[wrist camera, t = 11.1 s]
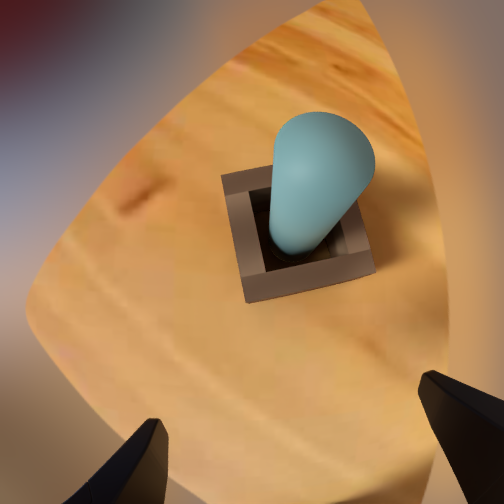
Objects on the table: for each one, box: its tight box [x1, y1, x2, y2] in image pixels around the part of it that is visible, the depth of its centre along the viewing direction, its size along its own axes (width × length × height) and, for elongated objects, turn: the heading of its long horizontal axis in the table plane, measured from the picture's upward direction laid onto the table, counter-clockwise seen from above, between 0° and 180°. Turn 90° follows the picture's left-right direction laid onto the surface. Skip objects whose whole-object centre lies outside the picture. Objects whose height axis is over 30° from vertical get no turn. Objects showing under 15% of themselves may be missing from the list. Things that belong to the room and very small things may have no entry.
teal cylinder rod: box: [268, 112, 375, 262], centre depth 16 cm, size 4×4×13 cm
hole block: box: [221, 165, 376, 304], centre depth 20 cm, size 8×8×4 cm
